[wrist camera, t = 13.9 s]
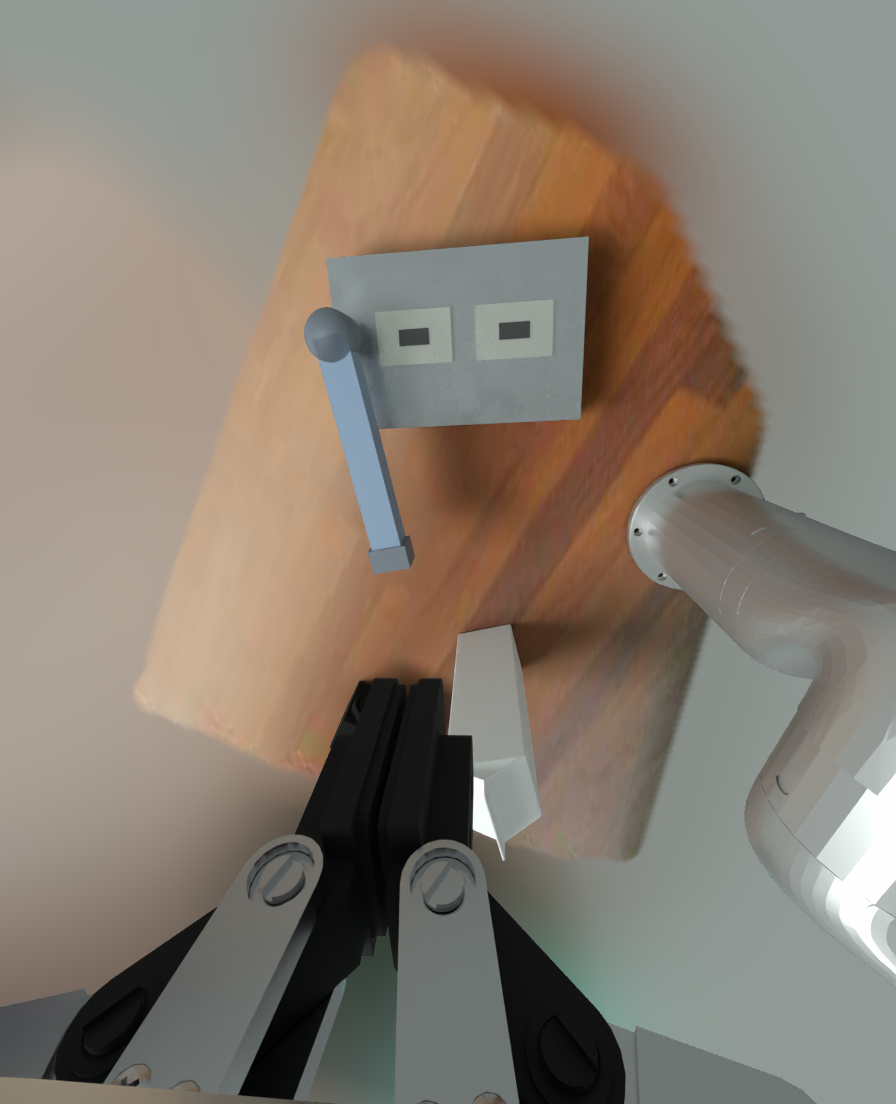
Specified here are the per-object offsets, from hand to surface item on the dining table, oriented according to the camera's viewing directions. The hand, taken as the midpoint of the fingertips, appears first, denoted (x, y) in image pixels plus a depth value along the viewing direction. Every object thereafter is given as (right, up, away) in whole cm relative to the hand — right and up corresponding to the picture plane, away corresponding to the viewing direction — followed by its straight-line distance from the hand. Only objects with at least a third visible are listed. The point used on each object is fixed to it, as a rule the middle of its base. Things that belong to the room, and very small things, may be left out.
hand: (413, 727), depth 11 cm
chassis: (+2, +23, +29) cm, 37 cm away
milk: (+6, -7, +40) cm, 41 cm away
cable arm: (-6, +13, +26) cm, 30 cm away
